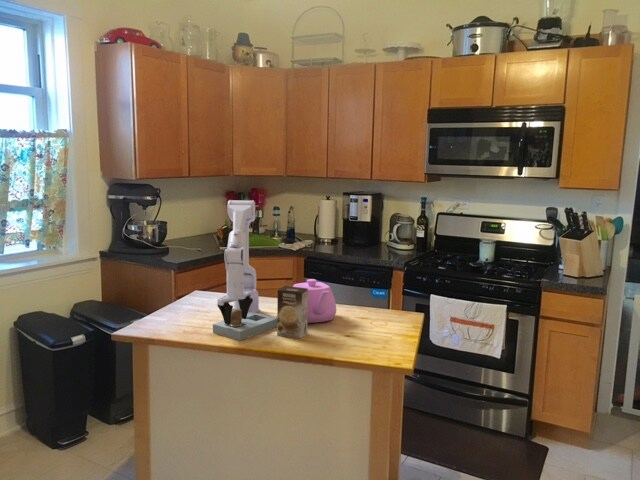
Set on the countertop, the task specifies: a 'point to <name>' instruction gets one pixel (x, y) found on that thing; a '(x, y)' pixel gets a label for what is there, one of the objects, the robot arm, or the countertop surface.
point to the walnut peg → (236, 318)
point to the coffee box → (292, 311)
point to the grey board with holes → (246, 326)
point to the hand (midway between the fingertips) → (235, 321)
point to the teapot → (319, 301)
